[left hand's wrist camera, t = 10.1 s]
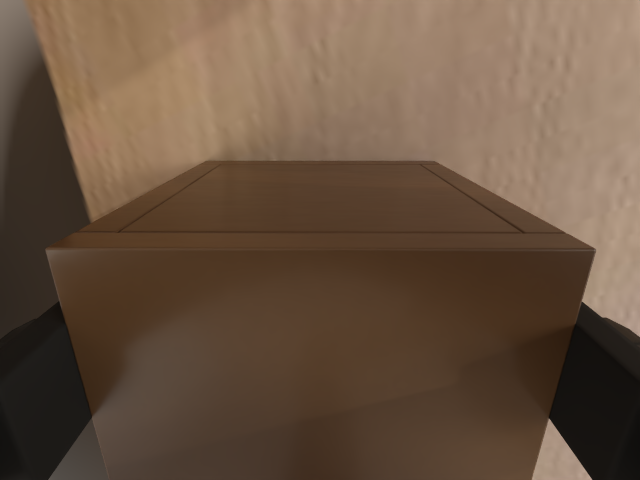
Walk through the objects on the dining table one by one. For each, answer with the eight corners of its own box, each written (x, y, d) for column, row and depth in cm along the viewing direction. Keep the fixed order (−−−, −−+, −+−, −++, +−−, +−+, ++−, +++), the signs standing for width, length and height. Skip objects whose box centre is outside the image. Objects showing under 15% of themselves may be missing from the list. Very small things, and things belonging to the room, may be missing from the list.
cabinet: (406, 429, 24) (473, 688, 14) (233, 429, 24) (166, 687, 14) (435, 161, 18) (598, 248, 8) (205, 160, 18) (42, 247, 8)
